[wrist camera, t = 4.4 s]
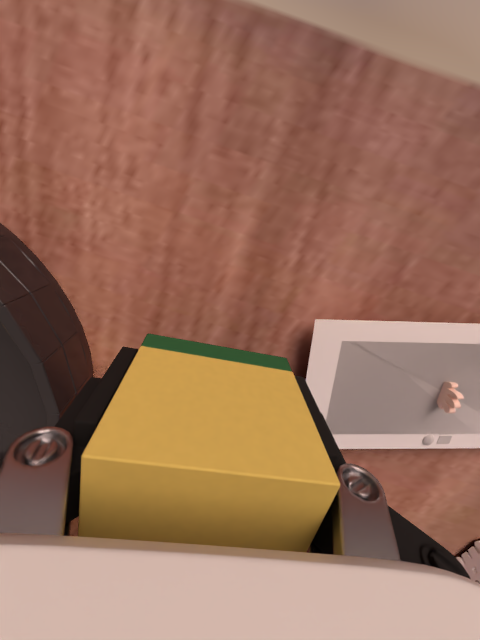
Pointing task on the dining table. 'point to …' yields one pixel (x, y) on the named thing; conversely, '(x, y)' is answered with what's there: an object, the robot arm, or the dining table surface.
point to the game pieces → (472, 561)
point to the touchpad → (397, 383)
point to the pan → (35, 344)
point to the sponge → (206, 453)
